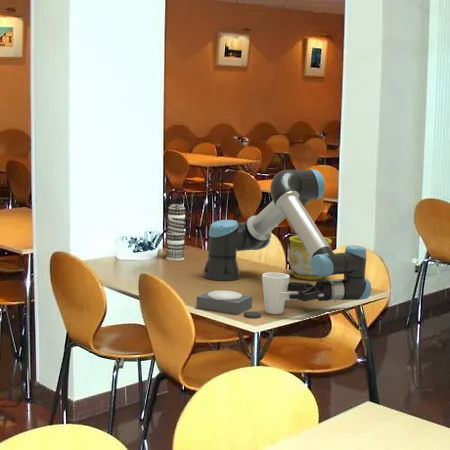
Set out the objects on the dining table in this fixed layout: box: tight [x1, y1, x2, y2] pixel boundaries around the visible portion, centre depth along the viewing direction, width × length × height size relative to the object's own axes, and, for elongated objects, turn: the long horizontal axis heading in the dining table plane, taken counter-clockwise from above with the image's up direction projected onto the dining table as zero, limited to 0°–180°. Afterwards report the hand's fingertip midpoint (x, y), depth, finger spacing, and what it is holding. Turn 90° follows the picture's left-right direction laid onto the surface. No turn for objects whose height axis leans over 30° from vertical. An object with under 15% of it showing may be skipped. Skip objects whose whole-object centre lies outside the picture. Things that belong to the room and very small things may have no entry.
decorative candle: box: [165, 203, 187, 261], centre depth 376 cm, size 9×9×25 cm
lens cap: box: [243, 310, 262, 319], centre depth 281 cm, size 6×6×1 cm
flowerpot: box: [287, 235, 333, 281], centre depth 349 cm, size 18×18×16 cm
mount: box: [196, 290, 253, 315], centre depth 291 cm, size 16×12×5 cm
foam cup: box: [261, 272, 290, 315], centre depth 287 cm, size 10×9×13 cm
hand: (272, 291), depth 286 cm, fingers open, 13 cm apart
